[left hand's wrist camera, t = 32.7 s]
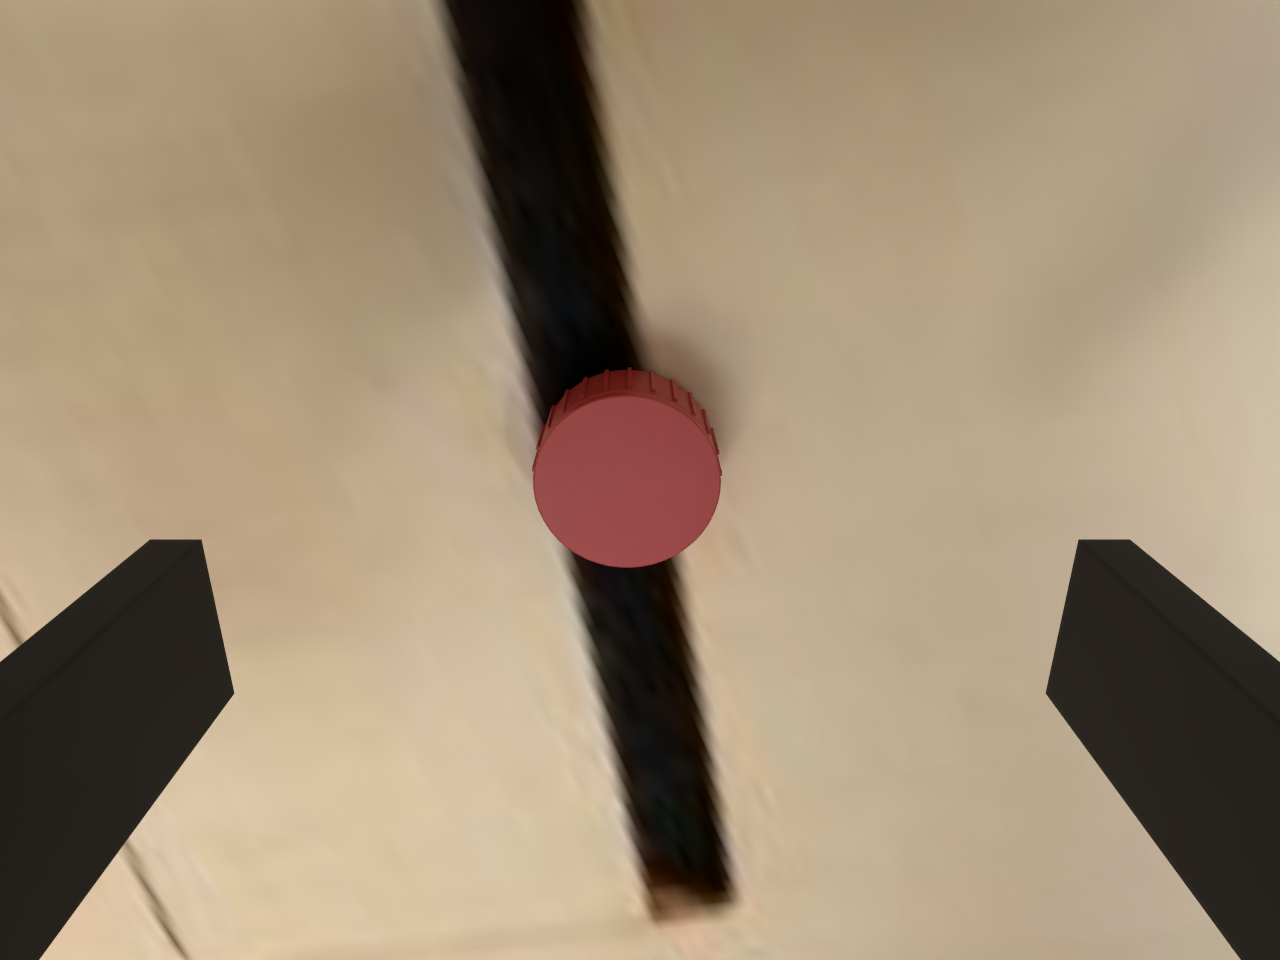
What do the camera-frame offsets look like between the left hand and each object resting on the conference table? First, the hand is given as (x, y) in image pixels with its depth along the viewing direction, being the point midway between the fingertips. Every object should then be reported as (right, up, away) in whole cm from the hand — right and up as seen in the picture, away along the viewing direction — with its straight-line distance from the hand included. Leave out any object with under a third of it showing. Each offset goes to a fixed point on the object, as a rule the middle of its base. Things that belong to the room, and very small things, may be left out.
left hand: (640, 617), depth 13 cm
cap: (0, +2, +4) cm, 4 cm away
